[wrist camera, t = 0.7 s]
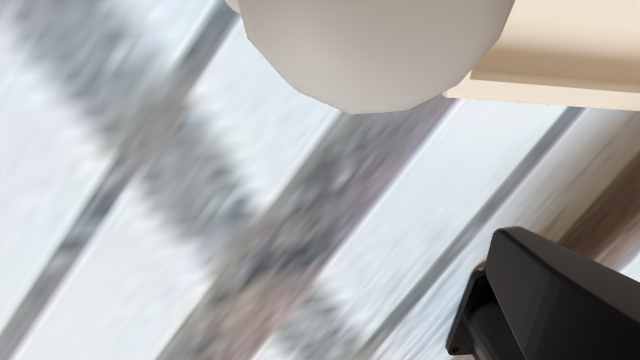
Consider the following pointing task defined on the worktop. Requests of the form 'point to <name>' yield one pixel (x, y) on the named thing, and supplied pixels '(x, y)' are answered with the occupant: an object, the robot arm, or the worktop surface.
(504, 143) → the worktop surface
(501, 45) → the tray
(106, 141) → the worktop surface
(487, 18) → the salt shaker
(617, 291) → the robot arm
